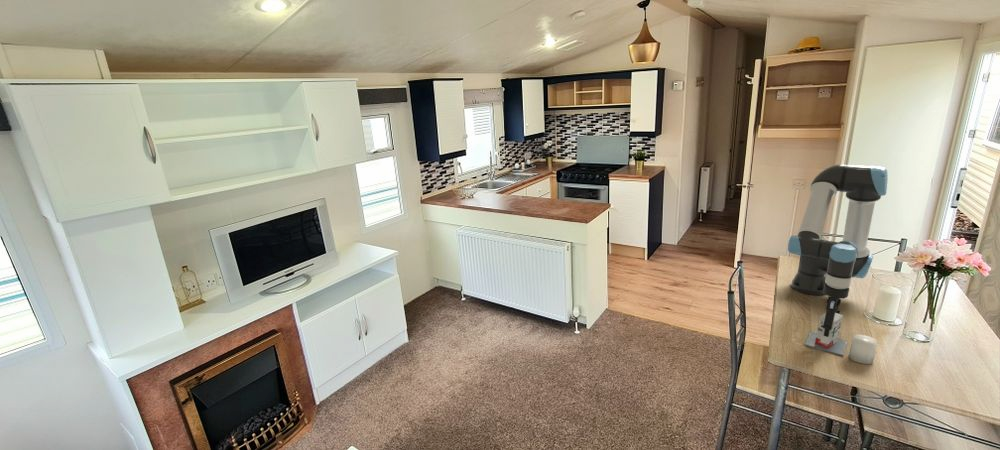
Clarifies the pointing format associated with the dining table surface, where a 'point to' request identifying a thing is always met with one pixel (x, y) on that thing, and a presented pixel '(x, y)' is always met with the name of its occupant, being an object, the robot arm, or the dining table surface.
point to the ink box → (835, 330)
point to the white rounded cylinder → (863, 349)
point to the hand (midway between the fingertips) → (827, 335)
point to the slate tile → (834, 349)
